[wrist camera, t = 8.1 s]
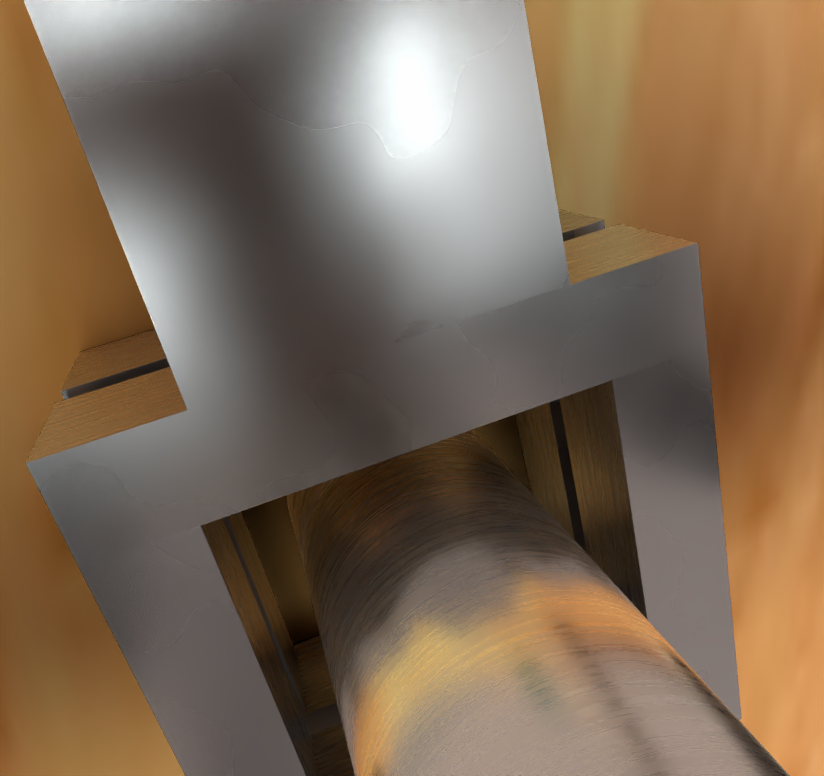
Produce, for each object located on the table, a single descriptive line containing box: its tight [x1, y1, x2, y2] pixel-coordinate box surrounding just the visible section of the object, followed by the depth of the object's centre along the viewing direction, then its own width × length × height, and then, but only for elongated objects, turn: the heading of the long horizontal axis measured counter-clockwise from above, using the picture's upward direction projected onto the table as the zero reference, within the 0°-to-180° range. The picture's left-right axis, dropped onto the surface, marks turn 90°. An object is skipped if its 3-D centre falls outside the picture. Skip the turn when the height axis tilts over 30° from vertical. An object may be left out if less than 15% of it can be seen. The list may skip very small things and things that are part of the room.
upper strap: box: [24, 0, 741, 776], centre depth 10 cm, size 11×7×4 cm, turn 14°
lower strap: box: [61, 209, 605, 734], centre depth 13 cm, size 16×7×2 cm, turn 14°
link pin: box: [287, 429, 789, 776], centre depth 7 cm, size 3×3×10 cm
